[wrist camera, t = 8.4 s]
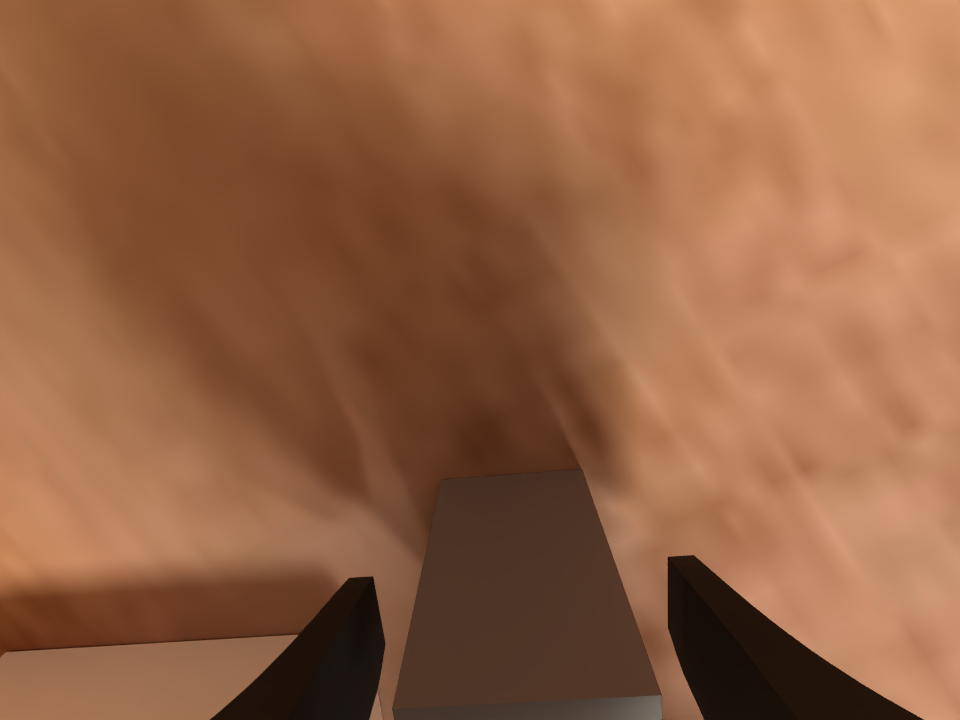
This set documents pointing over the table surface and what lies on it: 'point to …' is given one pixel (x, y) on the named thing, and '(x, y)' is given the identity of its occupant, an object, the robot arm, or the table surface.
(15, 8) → the table surface
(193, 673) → the socket plate
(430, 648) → the plug
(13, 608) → the table surface
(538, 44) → the table surface
